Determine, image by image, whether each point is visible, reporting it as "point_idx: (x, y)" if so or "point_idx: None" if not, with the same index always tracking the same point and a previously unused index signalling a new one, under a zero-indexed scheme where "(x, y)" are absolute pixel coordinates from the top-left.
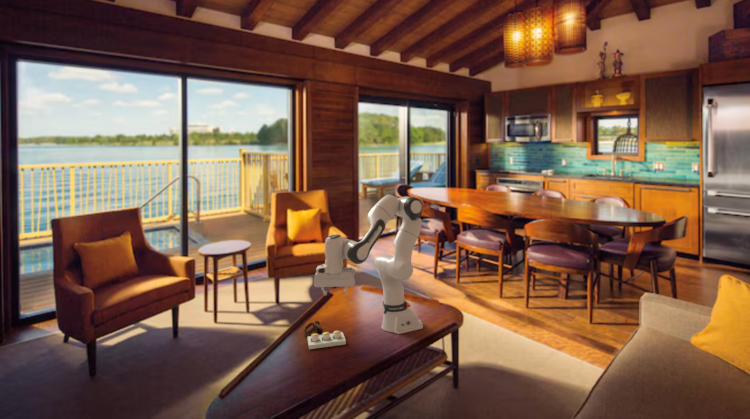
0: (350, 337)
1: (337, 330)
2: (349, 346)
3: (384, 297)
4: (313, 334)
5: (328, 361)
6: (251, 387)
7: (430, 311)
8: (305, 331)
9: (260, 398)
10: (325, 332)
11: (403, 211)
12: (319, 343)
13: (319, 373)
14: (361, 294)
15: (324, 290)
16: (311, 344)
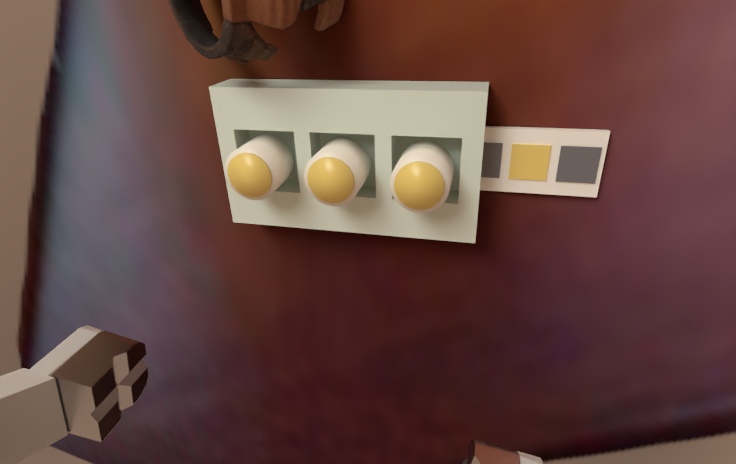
0: (550, 99)
1: (426, 166)
2: (498, 234)
3: None
4: (238, 170)
5: (349, 338)
6: None
7: None
8: (178, 23)
9: (131, 440)
10: (326, 169)
11: None
12: (295, 221)
13: (306, 403)
14: None
15: (33, 404)
16: (247, 216)
